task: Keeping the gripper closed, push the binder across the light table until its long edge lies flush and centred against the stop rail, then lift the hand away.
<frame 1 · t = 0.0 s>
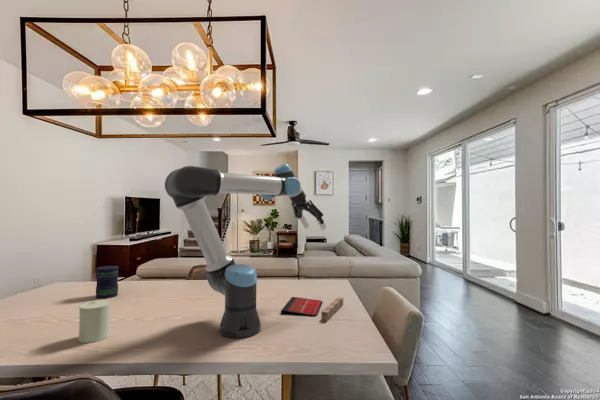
hand: (315, 227, 153), 36 cm above the table, tool tilted 35°, fingers open, 13 cm apart
can: (94, 337, 106), on the table
storage jar: (107, 296, 156), on the table
binder: (303, 309, 139), on the table
stop rail: (333, 312, 133), on the table
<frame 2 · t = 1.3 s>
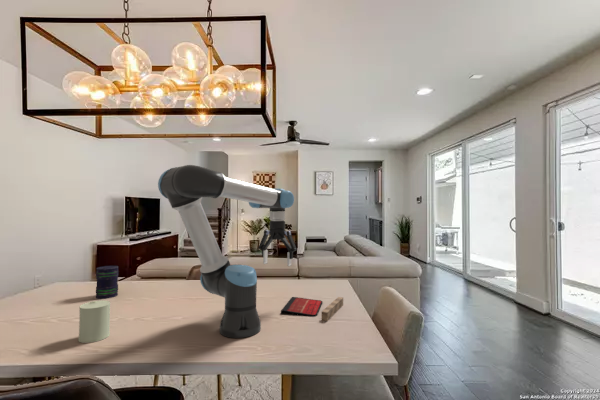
hand: (277, 264, 145), 19 cm above the table, tool pointing down, fingers open, 12 cm apart
nothing on the table moved.
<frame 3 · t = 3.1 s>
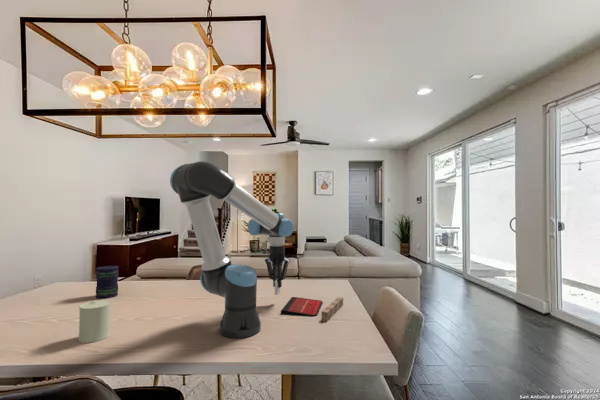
hand: (277, 293, 145), 4 cm above the table, tool pointing down, fingers closed
nothing on the table moved.
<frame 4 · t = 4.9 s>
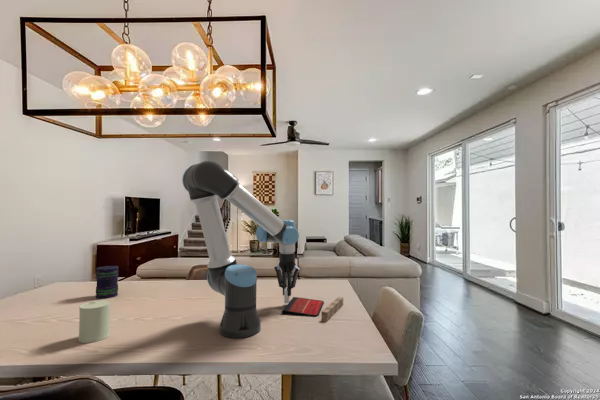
hand: (286, 302, 142), 1 cm above the table, tool pointing down, fingers closed
nothing on the table moved.
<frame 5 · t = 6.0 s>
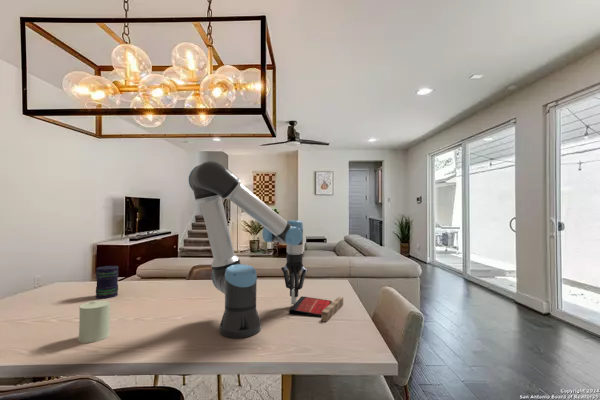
hand: (293, 303, 141), 1 cm above the table, tool pointing down, fingers closed
binder: (312, 308, 138), on the table, touching gripper, stop rail
everything else where it was.
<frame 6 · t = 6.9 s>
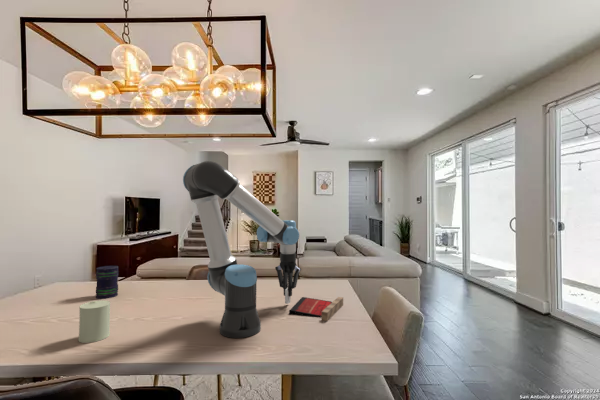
hand: (287, 302, 142), 1 cm above the table, tool pointing down, fingers closed
binder: (312, 309, 138), on the table
everything else where it was.
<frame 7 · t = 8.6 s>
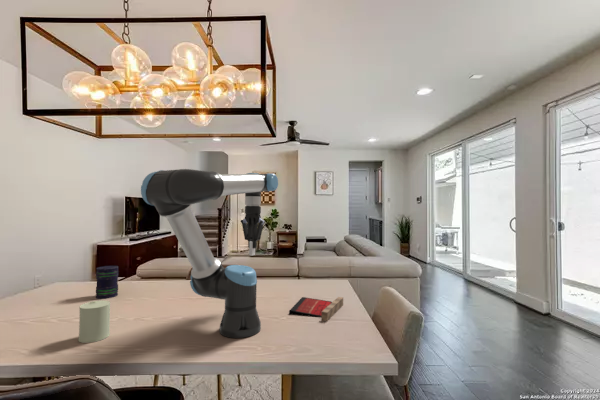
hand: (252, 255, 143), 24 cm above the table, tool pointing down, fingers closed
nothing on the table moved.
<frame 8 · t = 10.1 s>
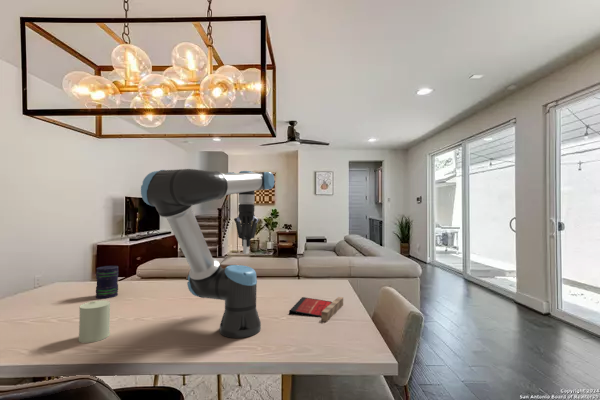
hand: (246, 253, 143), 24 cm above the table, tool pointing down, fingers closed
nothing on the table moved.
at the end: binder inside the target area on the table beside the stop rail (1.2 cm from its centre), on the table; binder tilted 0°; binder moved 4.3 cm from its start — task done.
